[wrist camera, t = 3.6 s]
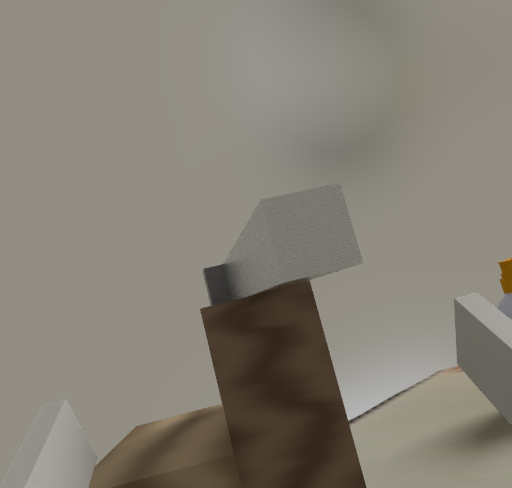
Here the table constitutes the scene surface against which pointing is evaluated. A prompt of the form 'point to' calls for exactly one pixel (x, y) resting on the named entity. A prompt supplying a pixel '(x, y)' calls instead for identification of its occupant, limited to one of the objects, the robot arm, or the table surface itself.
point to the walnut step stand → (251, 409)
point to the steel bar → (287, 245)
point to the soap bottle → (506, 287)
